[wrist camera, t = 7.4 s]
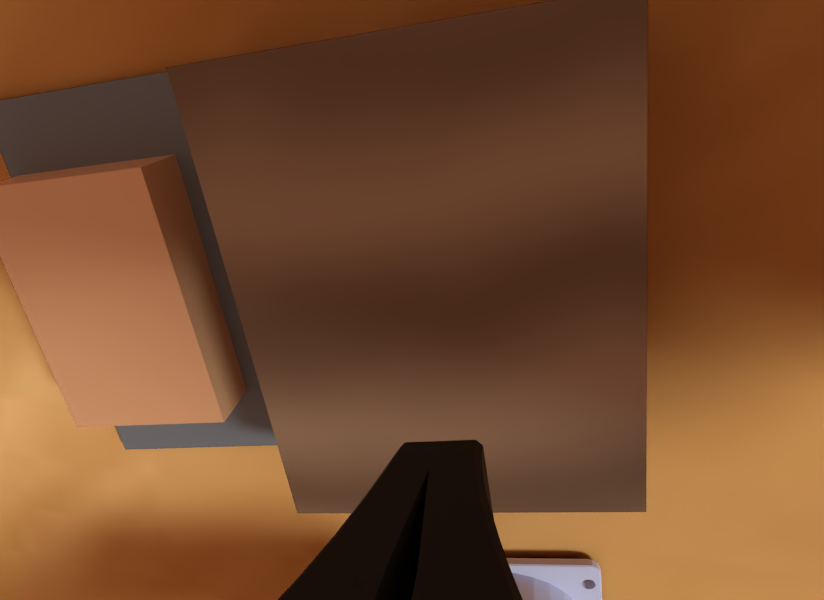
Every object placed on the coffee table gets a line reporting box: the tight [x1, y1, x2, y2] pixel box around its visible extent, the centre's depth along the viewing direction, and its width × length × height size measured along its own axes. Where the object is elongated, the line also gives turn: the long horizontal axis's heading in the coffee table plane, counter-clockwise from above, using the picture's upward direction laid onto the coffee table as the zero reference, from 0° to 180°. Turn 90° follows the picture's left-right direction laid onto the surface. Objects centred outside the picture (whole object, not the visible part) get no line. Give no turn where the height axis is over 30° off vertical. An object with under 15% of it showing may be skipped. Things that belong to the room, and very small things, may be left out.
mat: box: [0, 72, 277, 449], centre depth 21 cm, size 14×9×1 cm, turn 9°
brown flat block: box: [166, 0, 648, 513], centre depth 18 cm, size 14×11×4 cm
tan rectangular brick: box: [0, 154, 247, 427], centre depth 21 cm, size 9×6×2 cm, turn 9°
